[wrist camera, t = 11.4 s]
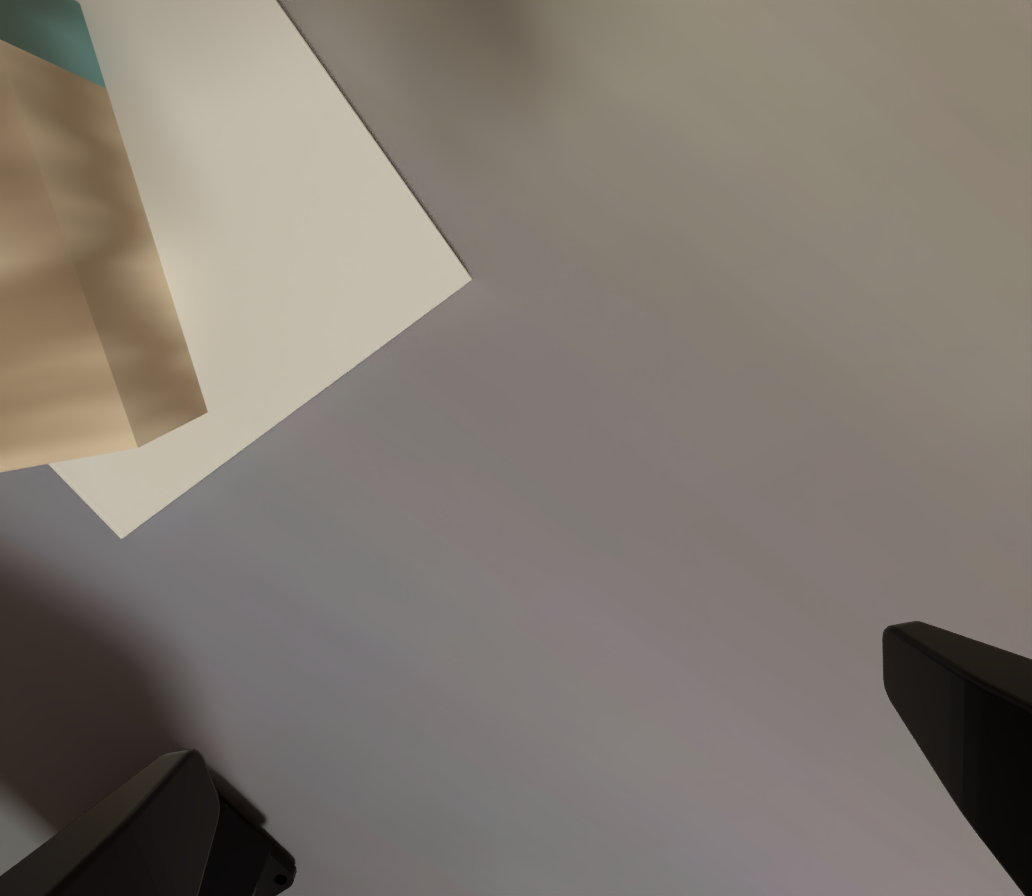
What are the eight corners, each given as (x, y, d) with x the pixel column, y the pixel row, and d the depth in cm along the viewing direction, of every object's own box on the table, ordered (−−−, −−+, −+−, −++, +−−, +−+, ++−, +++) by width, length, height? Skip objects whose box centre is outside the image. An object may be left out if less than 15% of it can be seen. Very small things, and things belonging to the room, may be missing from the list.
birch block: (138, 447, 16) (-47, -77, 13) (-21, 475, 16) (-241, -40, 13) (207, 412, 20) (79, 3, 17) (80, 434, 20) (-71, 31, 17)
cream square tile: (131, 531, 21) (121, 538, 21) (-264, 122, 18) (-290, 117, 17) (472, 279, 19) (472, 279, 19) (110, -237, 16) (95, -256, 15)
